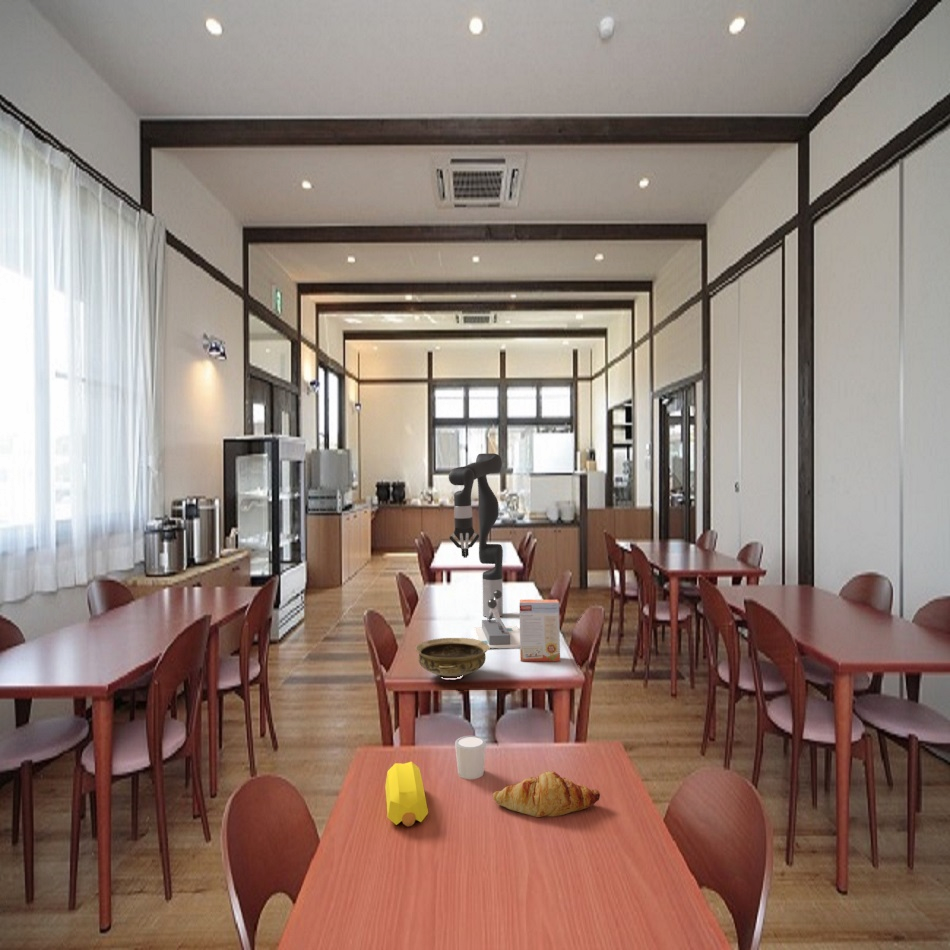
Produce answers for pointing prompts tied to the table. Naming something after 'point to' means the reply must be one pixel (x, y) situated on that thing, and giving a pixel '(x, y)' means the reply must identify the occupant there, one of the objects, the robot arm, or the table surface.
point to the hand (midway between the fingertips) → (465, 557)
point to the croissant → (546, 796)
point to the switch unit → (498, 635)
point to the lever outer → (496, 614)
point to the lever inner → (497, 595)
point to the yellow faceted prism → (405, 794)
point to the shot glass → (470, 756)
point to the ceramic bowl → (452, 656)
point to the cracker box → (539, 630)
